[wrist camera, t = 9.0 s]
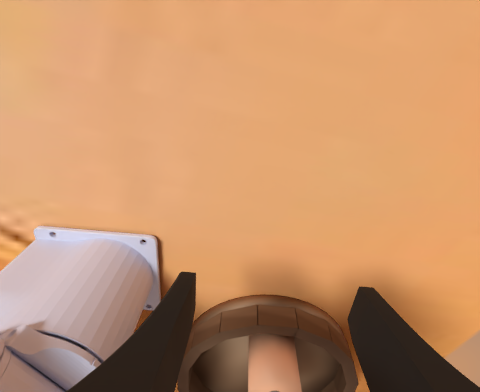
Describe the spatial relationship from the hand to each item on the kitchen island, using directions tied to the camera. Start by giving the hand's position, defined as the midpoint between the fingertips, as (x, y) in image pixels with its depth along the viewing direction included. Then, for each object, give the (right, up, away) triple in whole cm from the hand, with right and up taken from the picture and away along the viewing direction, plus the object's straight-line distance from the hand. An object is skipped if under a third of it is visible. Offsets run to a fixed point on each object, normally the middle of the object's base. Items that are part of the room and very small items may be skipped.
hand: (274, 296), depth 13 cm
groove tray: (+1, -11, +16) cm, 20 cm away
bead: (+1, -8, +13) cm, 16 cm away
